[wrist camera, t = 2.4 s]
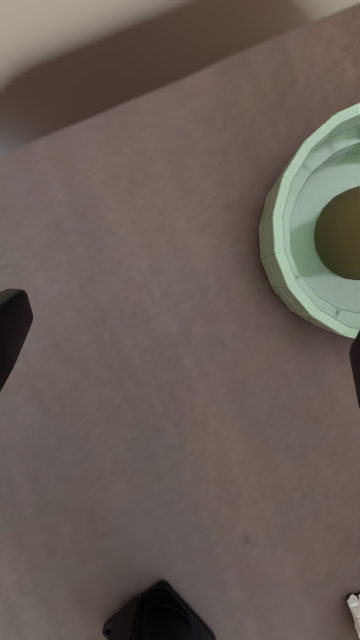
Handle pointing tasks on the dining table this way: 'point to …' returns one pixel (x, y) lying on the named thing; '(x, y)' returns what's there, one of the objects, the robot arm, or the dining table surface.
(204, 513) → the dining table surface
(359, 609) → the game pieces
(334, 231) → the cork
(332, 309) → the bowl
